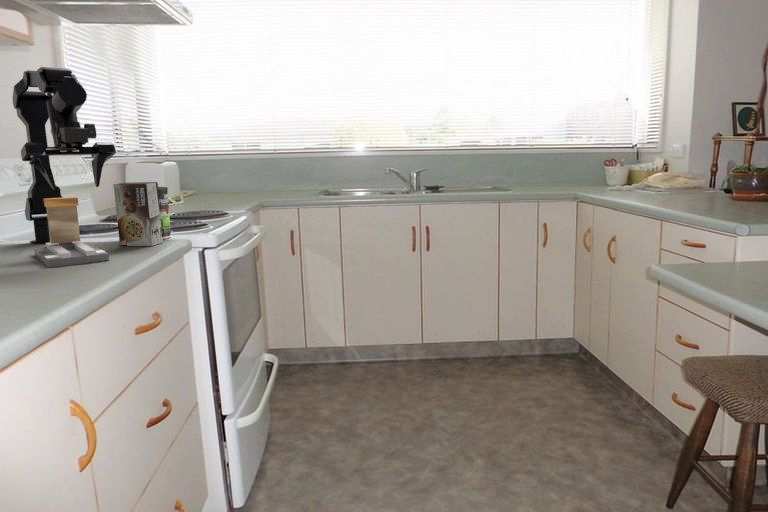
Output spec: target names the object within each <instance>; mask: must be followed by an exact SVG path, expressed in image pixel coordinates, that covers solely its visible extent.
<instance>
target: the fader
mask: <svg viewBox="0 0 768 512" xmlns="http://www.w3.org/2000/svg"><path fill="white" fill-rule="evenodd" d="M44 206H45V207H46V209H47V214H46V216H47V218H48V227H49V236H50V243H52V244H55V243H57V244H58V245H60V246H61V247H63V248H68V247H73V244H72V242H76V241H80V242H81V236H80V223H79V216H78V215H79V213H78V206H79V197H76V196H69V197H65V196H64V197H63V198H46V199H44Z"/></svg>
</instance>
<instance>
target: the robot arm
mask: <svg viewBox="0 0 768 512" xmlns="http://www.w3.org/2000/svg"><path fill="white" fill-rule="evenodd" d="M29 88H38V90H39V91H36V90H35V91H34V90H33V91H32V90H31V91H29ZM87 97H88V94H87V91H86V89H85V88H84V87H83V85H82V84H81V82H79V80H78V78H77V76H76V75H75V74H74V73H73V71H72V69H70V68H61V67H46V66H40V67H39V68H38V69H37V70H29V69H28V70H24V71H23V74H22V78H21V79H20V80H19V81H18V82H17V83H15V85H14V86H13V91H12V106H13V109H15V110H16V115H17V118H18V119H20V121H21V122H22V123H23V125H24V126H25V129H26V137H27V141H26V142H25V144H24V145H22V148H21V150H20V157H21V160H22V161H23V162H28V163H29V165H30V168H31V169H30V170H31V176H32V183H31V185H30V186H29V188H28V190H27V197H26V201H25V207H24V208H25V209H24V215H25V219H26V220H27V221H29V222H32V221H33V230H34V240H30V241H29V243H30V244H43V243H45V244H46V243H50V236H49V227H48V218H47V209H46V207H45V206H44V199H46V198H64V197H63V196H62V192H61V188H60V186H58V185H56V182H55V178H54V175H53V174H54V173H53V171H52V167H51V163H50V162H51V161H50V156H91V158H93V159H92V160H91V162H90V163H91V166H92V167H91V168H92V173H93V174H92V175H93V180H94V185H95V187H96V188H98V187H100V183H101V179H102V170H103V167H104V164H105V163H106V162H107V161H108V160H109V159H111V158H112V157H113V156H115V155H116V153H117V150H116V149H117V148H116V146H115V144H114V143H113V142H112V141H95V142H94V144H93V145H91V146H83V145H86V144H88V143H89V139H96V138H97V129H96V126H95V123H84V124H83V127H81V123H80V121H79V120H78V116H77V113H78V112H79V110H80V109H81V108H82V106H83V105H84V104H85V103H86V101H87ZM48 121H49V124H50V125H49V126H50V133H51V135H52V140H53V145H54V146H48V139H47V131H46V124H47V122H48ZM22 161H21V162H22Z"/></svg>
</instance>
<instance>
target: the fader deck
mask: <svg viewBox="0 0 768 512" xmlns="http://www.w3.org/2000/svg"><path fill="white" fill-rule="evenodd" d="M72 244H73V247H68V248H63V247H61V246H60V245H59V243H55V244H52V243H45V246H44V247H34V248H33V251H34V256H36V257H37V258H38V259H39V260H40V261H41V262H42V263H43V264H44V265H45V266H46V267H48V268H54V267H63V266H72V265H73V266H74V265H81V264H90V262H92V263H99V262H98V261H100V262H106V261H105V260H109V261H110V254H109V252H107V251H105V250H103V249H101V248H100V247H97V246H95V245H94V244H92V243H90V242H85V243H84V242H82V241H81V240H80V241H76V242H72Z"/></svg>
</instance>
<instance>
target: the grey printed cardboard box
mask: <svg viewBox="0 0 768 512" xmlns="http://www.w3.org/2000/svg"><path fill="white" fill-rule="evenodd" d="M112 186H113V192H114V201H115V210H116V211H115V212H116V221H117V228H118V229H117V231H118V241H119V246H120V245H127V246H126V247H153V246H157V245H160V244H162V243H163V242H164V239H162V228H161V216H160V205H159V193H158V187H159V184H158V181H137V182H135V181H133V182H132V181H130V182H120V183H119V182H118V183H113V185H112Z"/></svg>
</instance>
